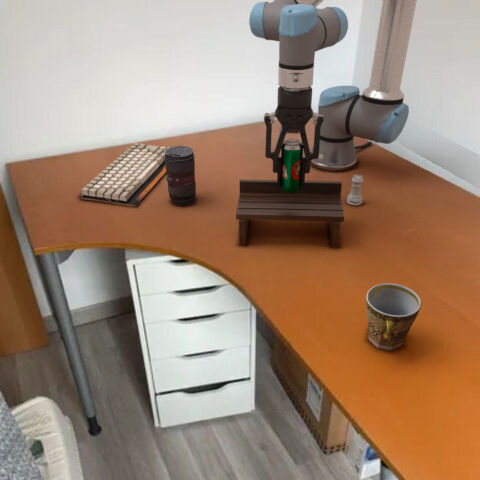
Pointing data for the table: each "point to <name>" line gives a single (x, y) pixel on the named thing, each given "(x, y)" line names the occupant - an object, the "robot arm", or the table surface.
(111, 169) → the mechanical keyboard
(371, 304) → the ceramic cup
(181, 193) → the camera lens
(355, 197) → the rook chess piece
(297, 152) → the soda can
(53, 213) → the table surface
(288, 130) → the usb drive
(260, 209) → the dark brown wooden bench
